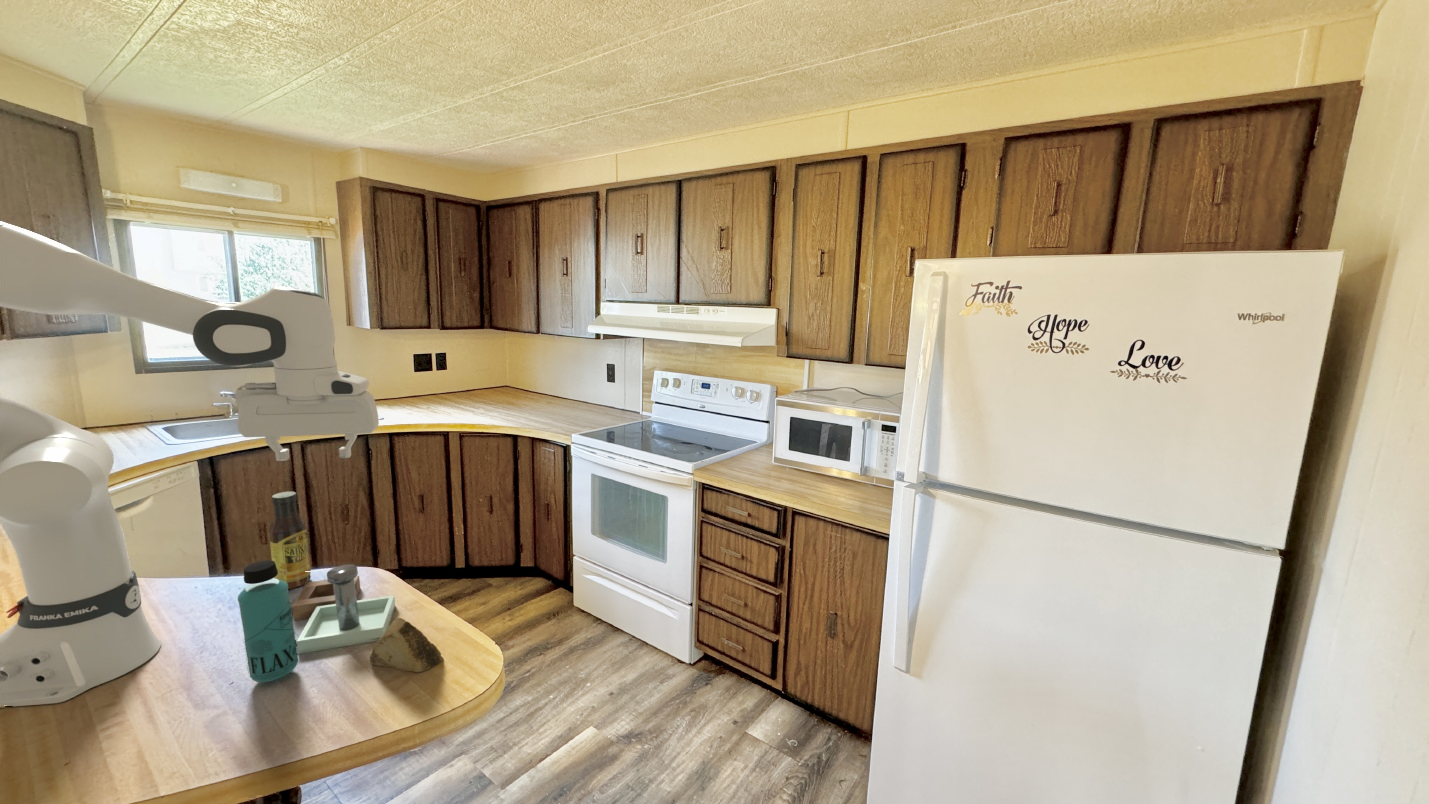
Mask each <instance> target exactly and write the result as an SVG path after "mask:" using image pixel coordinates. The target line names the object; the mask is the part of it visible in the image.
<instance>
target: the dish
mask: <svg viewBox="0 0 1429 804" xmlns="http://www.w3.org/2000/svg"><path fill="white" fill-rule="evenodd" d="M395 598H396V597H395V595H386V596H380V597H373V598H365V599H360V600H359V599H357V606H358V614H359V621H360V624H359V625H358V626H357V627H356V628H354V629H351V630H347V631H342V630H340V629H339V624H338V616H337V609H336V604H331V605H324V606H317V607H316V609H315V610H314V612H313V614H312V616H311V617H310V618H308V621H307V623H306V624H305V626H304V628H303V629H302V631H301V633H300V634H299V637H298V639H297V640H296V642H297V647H296V648H297V649H298V655H301V654H306V653H307V654H308V653H313V652H319V651H320V652H321V651H325V650H331V649H337V648H343V647H350V646H355V645H360V644H366V643H373V642H378V641H379V639H380V638H381V637H382V636H383V634H384V633H385V632H386V630H387V629H388V627H389V626H390V625H391V622H392V617H393V614H394V613H395V612H394V611H395V610H396V609H395V608H396V600H395Z"/></svg>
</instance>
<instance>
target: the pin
mask: <svg viewBox="0 0 1429 804" xmlns="http://www.w3.org/2000/svg"><path fill="white" fill-rule="evenodd" d="M358 574H359V572H358V566H357V565H355V564H351V563H350V564H342V565H338V566H335V567H333V568H331V569H329V570H328V571H326V578H327V579H326V580H328V582H329V583H333V588H334V595H335V602H336V609H337V616H338V624H339V629H340V630H342V631H347V630H351V629H354V628H356V627H357V626H358V625H359V624H360V621H359V614H358V606H357V601H358V598H357V597H356V591H355V583H354V578H355V577H356V576H359V575H358Z"/></svg>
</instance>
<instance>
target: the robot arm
mask: <svg viewBox="0 0 1429 804" xmlns="http://www.w3.org/2000/svg"><path fill="white" fill-rule="evenodd" d="M0 307H2V308H4V309H11V310H16V311H22V312H28V313H36V314H43V315H50V316H60V315H61V316H62V315H63V316H65V315H66V316H67V315H70V316H71V315H101V316H114V317H121V318H127V319H131V320H135V321H139V322H143V323H145V324H150V325H155V326H158V327H161V328H165V329H169V330H173V331H177V332H180V333H183V334H187V335H191V336H192V339H193V343H194V346H195V347H196V349H197V350H198V351H199V353H201V355H202V356H203V357H205V358H206V359H208V360H209V361H211V362H213V363H215V364H218V365H221V366H222V365H223V366H228V367H247V366H251V365H253V364H259V363H264V362H272V363H273V371H274V379H275V380H274V382H257V383H256V382H246V383H245V384H243V385H240V386H239V387H238V388H237V389H236V390H235V393H234V394H235V395H234V396H235V402H236V403H235V404H236V405H237V406H238V411H237V412H238V413H237V430H238V431H237V432H238V433H239V434H240V435H241V436H243V438H265V443H266V444H267V446H268V447H269V448H270V449H271V450H272V451H273V452H274V453H275V461H276V462H283V461H288V460H290V454H289V453H290V449H289V448H284V447H283V446H282V445H281V444H280V443H279V440H280V439H281V437H299V436H300V437H301V436H327V435H329V436H333V435H334V436H335V435H336V436H337V435H344V439H345V441H347V443H346V445H345V446H341V447H340V448H338V453H339V455H338V457H339V459H349V458H350V457H351V456H352V446H353V444H354V442H355V441H356V439H357V437H358V435H362V434H363V435H364V434H366V435H367V434H372V433H374V432H375V431H376V430H377V428H378V427H379V415H378V408H377V404H376V400H375V397H374V396H373V395H372V394H371V393H370V392H369V391H367V389H369V385H370V384H369V383H370V382H369V380H368V378H367V377H363V376H360V375H356V374H353V373H348V372H345V371H341V370H338V363H337V359H336V358H335V356H334V354H335V353H334V346H335V342H336V339H335V338H336V336H335V327H334V326H335V325H334V321H333V314H332V311H331V306H330V304H329V301H327V300H326V299H325V297H323V296H322V295H320V294H319V293H316V292H314V291H310V290H306V289H305V290H304V289H300V288H295V287H288V286H275V287H271V288H270V289H269V290H268V291H266V292H264V293H262V294H260V295H256V296H255V297H253V298H250V299H246V300H244V301H241V302H238V301H235V302H234V301H231V302H229V301H228V302H221V301H220V302H218V301H212V300H207V299H203V298H200V297H197V296H193V295H190V294H187V293H183V292H180V291H177V290H174V289H172V288H171V289H170V288H168V287H164V286H161V285H158V284H154V283H151V282H148V281H146V280H142V279H139V278H137V277H134V276H132V275H129V274H127V273H125V272H122V271H119V270H118V269H116V268H114V267H111V266H109V265H107V264H105V263H103V262H101V261H99V260H96V259H94V258H92V257H90V256H88V255H86V254H84V253H82V252H80V251H78V250H76V249H73V248H71V247H69V246H67V245H65V244H62V243H60V242H58V241H55V240H53V239H50V238H48V237H47V236H43V235H41V234H39V233H36V232H33V231H31V230H27V229H26V228H21V227H19V226H16V225H13V224H10V223H7V222H4V221H0ZM114 462H115V461H114V454H113V451H112V449H111V447H110V446H109V444H108V443H107V442H106V441H105V439H103V438H102V437H101V436H99V435H98V434H96V433H94V432H93V431H89V430H86V429H82V428H80V427H78V426H75V425H73V424H70V422H67V421H64V420H62V419H59V418H57V417H56V416H53V415H51V414H48V413H46V412H43V411H41V410H39V409H36V408H33V407H31V406H29V405H26V404H23V403H21V402H20V401H19V402H18V401H16V400H14V399H11V398H10V397H7V396H5V395H3V394H1V393H0V525H1V527H2V529H3V531H4V533H5V535H6V536H7V539H8V540H9V541H10V544H11V545H12V548H13V549H14V551H15V555H16V557H17V560H18V563H19V568H20V573H21V575H22V579H23V583H24V587H25V591H26V596H25V597H23V598H21V599H20V600H18V601H17V602H16V604H15V605H13V607H11V608H9V609H8V610H6V611H5V614H8V613H9V614H8V615H7V616H6V618H7V619H10V618H12V617H13V616H15V615H16V614H19V616H18V619H17V621H16V622H15V623H14V624H13V625H11V626H10V627H8V628H7V629H6V630H5V631H3V632H1V634H0V706H4V705H7V706H13V707H24V706H25V707H26V706H34V705H35V706H37V705H39V706H40V705H48V704H58V703H62V702H66V701H68V700H71V699H72V698H74V697H77V696H78V695H80V694H82V693H84V692H85V691H88V690H89V689H91V688H94V687H97V686H99V685H101V684H104V683H107V682H110V681H112V680H115V679H116V678H118V677H121V676H123V675H126V674H127V673H130V672H131V671H133V670H134V669H137V668H138V667H140V666H142V665H143V664H144V663H147V661H149V660H150V659H151V658H152V657H154V656H155V654H156V653H158V651H159V650H160V647H161V645H162V642H161V640H160V639H159V638H158V636H157V635H156V633H155V632H154V631H153V629H152V628H151V626H150V624H149V622H148V620H147V618H146V616H145V613H144V611H143V608H142V606H141V605H142V595H141V590H140V587H139V580H138V578H137V577H138V576H137V574H136V573H137V572H135V571H134V570H132V566H131V562H130V558H129V553H128V547H127V543H126V538H125V534H124V529H123V527H122V526H121V524H120V522H119V520H118V516H117V513H116V511H115V508H114V505H113V502H112V499H111V495H110V491H109V478H110V473H111V471H112V468H113V466H114Z"/></svg>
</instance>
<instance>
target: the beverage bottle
mask: <svg viewBox="0 0 1429 804" xmlns="http://www.w3.org/2000/svg"><path fill="white" fill-rule="evenodd" d="M277 575H278V570H277V568H276V564H275V562H274V561H272V559H270V560H269V559H267V560H260V561H256V562H252V563H251V564H248V565H246V566H245V567H244V568H243V581H244V583H245V584H247V586H246V587H245V588H244V589H243V590H241V592H240V593H239V594H238V595H237V601H238V605H239V612H240V618H241V623H242V624H241V625H242V631H243V636H244V640H243V644H244V646H243V647H244V651H245V653H244V655H245V660H246V661H247V662H246V664H247V667H246V668H247V671H248V672H247V674H249V675H248V677H249V678H251V680H252V681H253V682H257V683H266V682H272V681H275V680H276V681H277V680H278V679H281V678H283V677H285V676H286V675H288V674H290V673H291V672H293V671H294V670H295V668H296V667H297V666H298V662H299V657H300V656H299V654H298V647H297V640H298V639H297V635H296V633H297V632H296V631H295V629H294V616H293V609H292V605H291V604H292V602H291V601H290V594H289V589H288V584H287V583H286V582H284V581H282V580H279V579H275V578H274V577H276V576H277Z"/></svg>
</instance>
